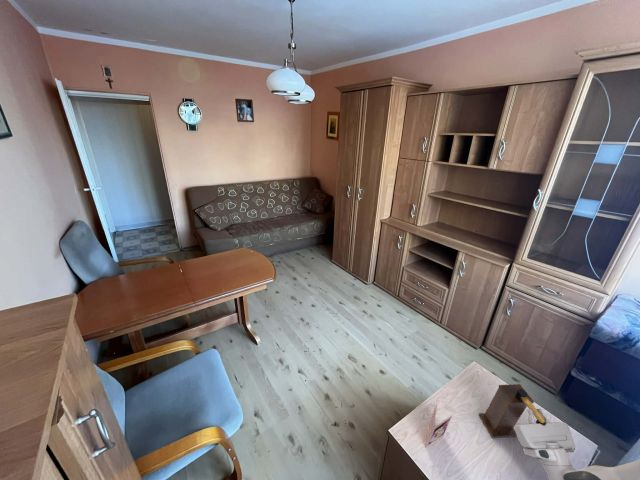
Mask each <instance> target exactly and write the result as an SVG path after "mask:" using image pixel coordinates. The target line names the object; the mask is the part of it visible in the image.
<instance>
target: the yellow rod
mask: <svg viewBox="0 0 640 480" xmlns="http://www.w3.org/2000/svg"><path fill="white" fill-rule="evenodd" d="M523 389H524V388H523ZM523 389H519V390H518V391H517V393H516V397H517V398H518V399H519V400H521V401H523V402H524V403H525V404H526V406H527V407H526V408H527V409H533V410H534V413H535V415H533V416H534V417H535V419H536V420H535V421H536V424H541V425H543V426H545V425H546V423H545V419H544V418H543V417H542V415H541V414H540V413H539V412H538V410H537V409H538V408H536V407H535V405H534V403H531V402H530V400H529V399H528V398H527V395H529V394H528V392H527V391H526V390H525V389H524V390H523Z"/></svg>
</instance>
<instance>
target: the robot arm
mask: <svg viewBox="0 0 640 480" xmlns="http://www.w3.org/2000/svg"><path fill="white" fill-rule="evenodd" d="M536 409H537V410H538V412H539V413H540V414H541V415H542V417H543V418H544V419H545V423H546V425H545V426H543V425H541V424H536V421H537V420H536V419H534V417H535V416H534V415H535V413H534V410H533V409H529V408H526V412H527V422H528V423H516V424H515V426H514V427H513V429H514V430H515V432H516V435H517V437H516V438H517V439H518V442H519V443H520V445H521V446H522V447H523V452H524V454H525V455H526V456H528V457H532V458H534V459H537V460H540V463H541V465H542V467H543V468H544V470H545V472H546V478H547V480H640V458H638V459H637V460H634V461H630V462H627V463H622V464H620V465H615V466H613V465H607V464H602V463H593V464H590V465H588V466H586V467H581V468H579V469H577V468H574V467H573V464H572V462H571V461H570V458H569V456H568V454H567V453H574V452H575V450H576V448H577V447H576V444H575V441H574V437H573V434H572V432H571V429H570V427H569V425H568V424H567V423H566V422H564V421H555V422H554V421H553V422H551V420H550V419H549V418H548V416H546V414H544V412H543V410H542V409H541V408H536Z"/></svg>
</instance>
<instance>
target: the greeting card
mask: <svg viewBox="0 0 640 480" xmlns="http://www.w3.org/2000/svg"><path fill="white" fill-rule="evenodd" d="M437 406H438V404H437V403H436V405H435V407H434V410H433V412H432V415H431V417H430V418H429V419H430V420H429V422H428V427H427V434H426V441H425V447H424V448H428V447H429V446H431V445H432V444H433V443H435V442H436V441H438V440H439V439H440V438H442V437H443V436H444V435H445V433H446V431H447V428H448V426H449V424H450V423H451V420H452V418H453V415H450V416H449V417H447V418H446V419H445V420H442V421H441V422H440V423H438V424H437V425H435V422H436V415H437Z"/></svg>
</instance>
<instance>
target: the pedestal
mask: <svg viewBox="0 0 640 480" xmlns="http://www.w3.org/2000/svg"><path fill="white" fill-rule="evenodd" d="M519 389H523V390H525V389H524V387H523V386H522V385H521V384H520V383H518V384H517V383H516V384H499V385H498V388H497V390H496V391H495V394H494V395H493V397H492V399H491V400H490V403H489V404H488V407H487V408H486V410H485V412H482V413H481V412H480V413H479V414H478V417H479V419H480V421H481V422H482V424H483V426H484V428H485V429H486V431H487V433H488V434H489V436H490V437H491V439H503V438H518V437H517V435H516V432H515V429H514V426H515V424H518V421H519V420H520V418H521V416H522V415H523V413H524V412H525V410H527V408H528V407H527V406H526V404H525V403H524V402H523V401H521V400H519V399H518V398H517V397H516V393H517V391H518V390H519ZM527 398H528V399H529V400H530V402H531V403H532V404H534V403H535V401H534V399H532V397H531V396H530V395H529V394H528V395H527Z"/></svg>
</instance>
